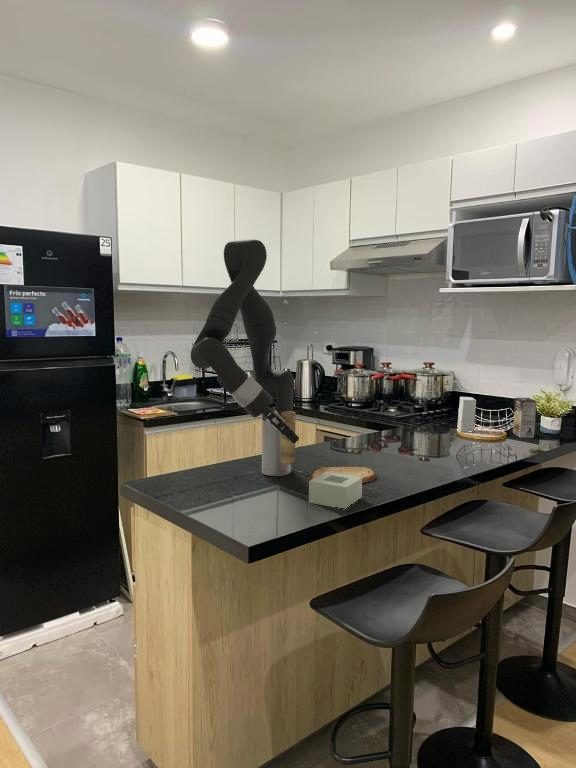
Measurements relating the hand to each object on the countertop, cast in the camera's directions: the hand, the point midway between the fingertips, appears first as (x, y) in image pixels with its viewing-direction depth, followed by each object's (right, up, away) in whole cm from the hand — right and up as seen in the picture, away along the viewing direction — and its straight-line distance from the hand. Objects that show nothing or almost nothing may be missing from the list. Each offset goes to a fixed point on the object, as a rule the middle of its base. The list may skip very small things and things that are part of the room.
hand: (295, 438), depth 158 cm
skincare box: (+78, -6, +101) cm, 127 cm away
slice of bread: (+15, -15, +22) cm, 31 cm away
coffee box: (+100, -7, +92) cm, 136 cm away
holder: (+11, -17, +1) cm, 20 cm away
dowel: (-2, -7, 0) cm, 7 cm away
